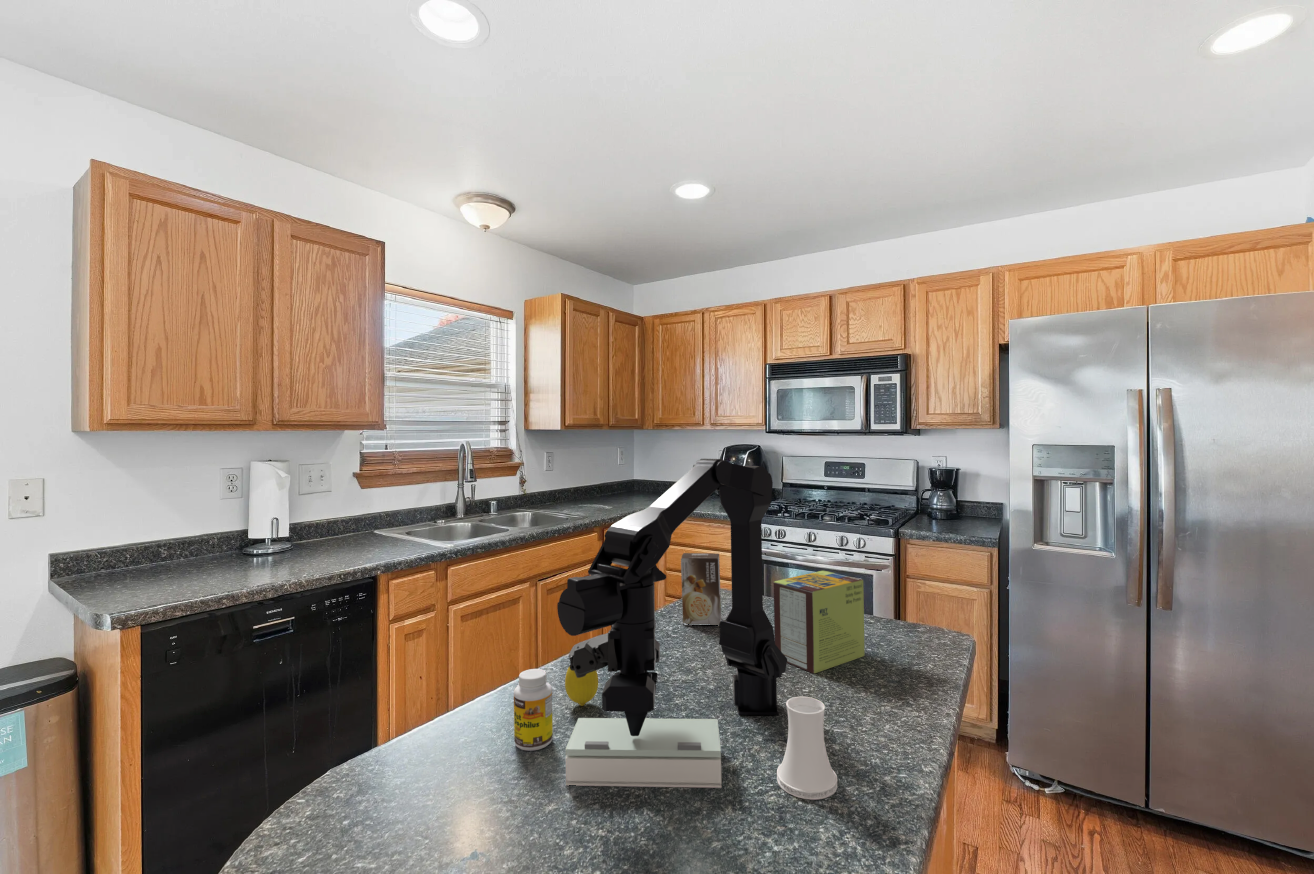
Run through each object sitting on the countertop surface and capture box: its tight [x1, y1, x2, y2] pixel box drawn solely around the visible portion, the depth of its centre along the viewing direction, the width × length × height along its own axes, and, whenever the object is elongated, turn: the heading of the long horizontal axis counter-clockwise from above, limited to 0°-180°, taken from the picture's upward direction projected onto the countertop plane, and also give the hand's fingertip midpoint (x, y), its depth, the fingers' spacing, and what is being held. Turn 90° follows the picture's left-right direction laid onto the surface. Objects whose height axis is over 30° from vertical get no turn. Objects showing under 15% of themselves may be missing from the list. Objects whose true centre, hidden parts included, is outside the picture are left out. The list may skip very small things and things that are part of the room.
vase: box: [776, 696, 838, 800], centre depth 76 cm, size 8×8×10 cm
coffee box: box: [680, 552, 723, 625], centre depth 142 cm, size 9×6×16 cm
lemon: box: [564, 665, 599, 707], centre depth 99 cm, size 6×6×8 cm
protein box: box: [773, 570, 866, 675], centre depth 118 cm, size 10×15×16 cm
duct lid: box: [564, 717, 722, 758], centre depth 80 cm, size 20×9×1 cm, turn 87°
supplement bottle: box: [513, 668, 554, 752], centre depth 87 cm, size 6×6×10 cm
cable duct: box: [565, 756, 722, 789], centre depth 80 cm, size 20×9×4 cm, turn 87°
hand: (634, 734), depth 79 cm, fingers closed
